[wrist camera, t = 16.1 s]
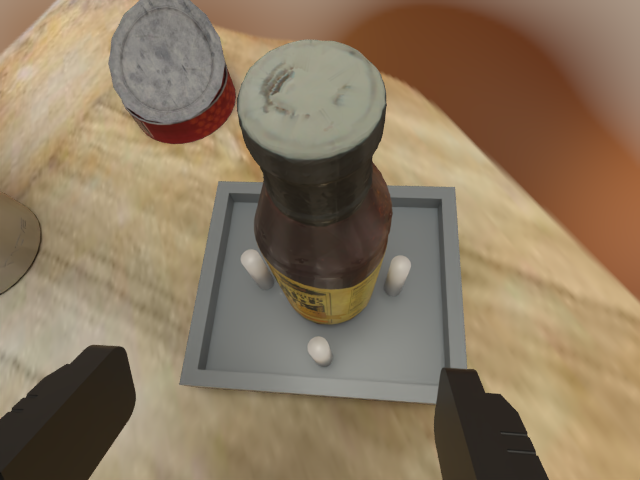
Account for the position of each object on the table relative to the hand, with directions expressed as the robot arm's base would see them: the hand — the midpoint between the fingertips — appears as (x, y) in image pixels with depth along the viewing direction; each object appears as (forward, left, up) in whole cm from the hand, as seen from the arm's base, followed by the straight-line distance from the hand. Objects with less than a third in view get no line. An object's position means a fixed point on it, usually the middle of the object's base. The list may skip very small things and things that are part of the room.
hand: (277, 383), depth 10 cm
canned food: (-15, +26, -19) cm, 35 cm away
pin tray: (0, +8, -19) cm, 20 cm away
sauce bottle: (0, +7, -17) cm, 19 cm away
